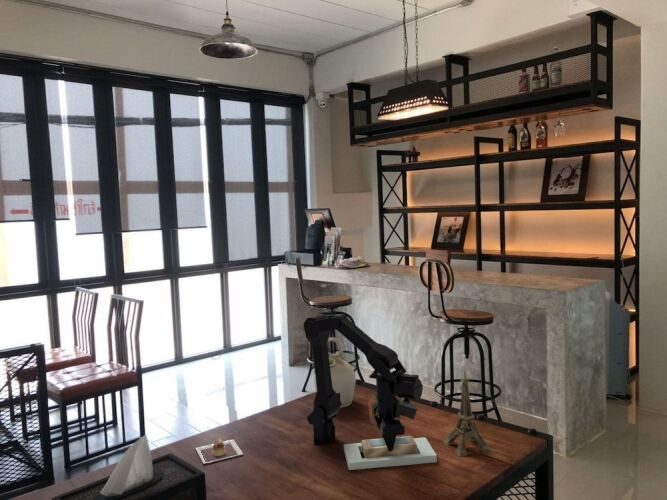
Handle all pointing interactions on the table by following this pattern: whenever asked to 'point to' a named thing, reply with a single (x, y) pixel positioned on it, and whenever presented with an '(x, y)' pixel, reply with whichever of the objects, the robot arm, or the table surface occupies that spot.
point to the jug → (341, 375)
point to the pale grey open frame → (356, 462)
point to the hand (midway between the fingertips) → (388, 446)
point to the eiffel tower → (466, 424)
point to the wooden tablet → (372, 419)
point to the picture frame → (380, 449)
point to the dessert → (219, 449)
